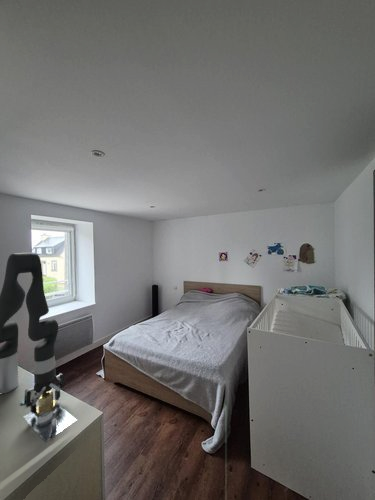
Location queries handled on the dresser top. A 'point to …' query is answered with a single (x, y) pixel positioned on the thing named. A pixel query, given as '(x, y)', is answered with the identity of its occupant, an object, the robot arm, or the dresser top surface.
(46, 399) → the brass octagonal tube
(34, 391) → the pacifier
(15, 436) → the dresser top surface
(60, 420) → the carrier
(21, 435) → the dresser top surface
